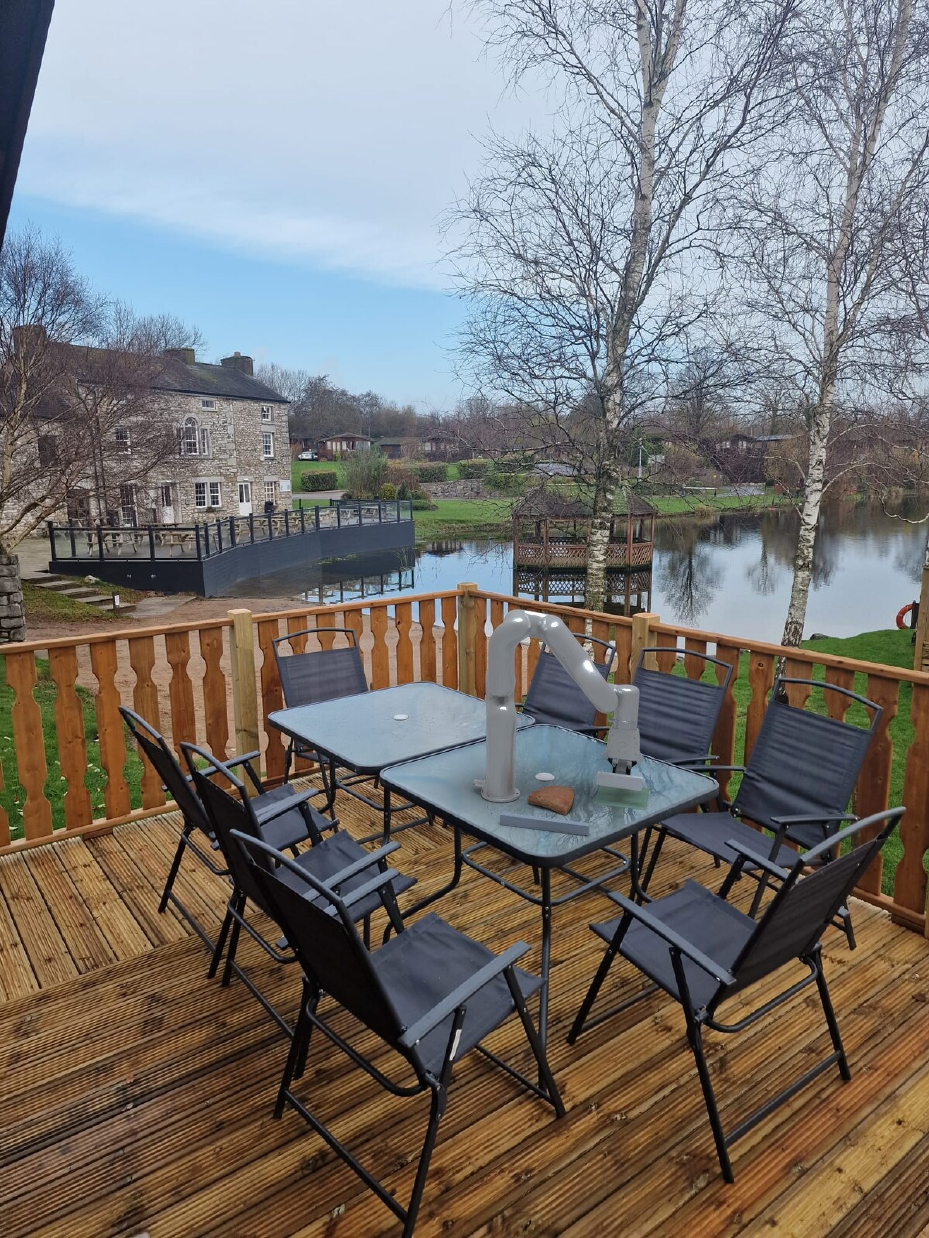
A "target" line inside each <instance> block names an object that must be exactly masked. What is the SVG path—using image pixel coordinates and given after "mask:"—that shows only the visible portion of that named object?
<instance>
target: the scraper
mask: <svg viewBox="0 0 929 1238" xmlns="http://www.w3.org/2000/svg"><path fill="white" fill-rule="evenodd" d="M616 763H617V767H616V772H615V773H612V772H608V771H599V770H597V773H596V786H600V785H602V786H609V787H616V788H623V789H630V790H637V791H642V787H643V783H644V782H643V781H644V776H637V775H626V768H627V765H628V761H627V760H619V759H617V762H616Z"/></svg>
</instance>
